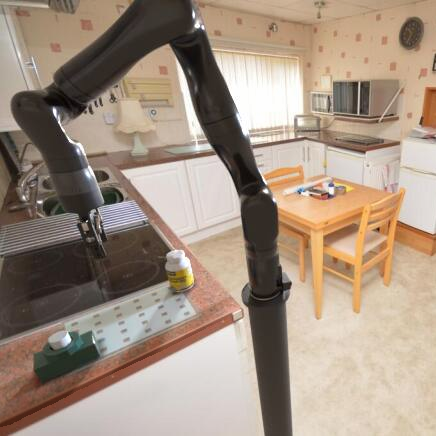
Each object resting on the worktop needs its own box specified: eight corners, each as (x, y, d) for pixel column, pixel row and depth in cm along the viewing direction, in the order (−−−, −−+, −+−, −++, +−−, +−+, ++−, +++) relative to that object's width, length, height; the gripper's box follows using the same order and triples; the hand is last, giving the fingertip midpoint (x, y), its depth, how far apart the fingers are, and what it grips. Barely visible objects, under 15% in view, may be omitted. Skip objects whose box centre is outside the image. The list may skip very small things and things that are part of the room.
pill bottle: (166, 291, 86) (157, 258, 81) (180, 277, 92) (172, 246, 87) (186, 294, 85) (178, 261, 80) (198, 280, 91) (192, 249, 86)
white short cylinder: (71, 335, 64) (67, 328, 63) (72, 344, 62) (68, 337, 61) (52, 343, 62) (47, 335, 61) (52, 353, 60) (48, 345, 59)
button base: (97, 341, 70) (88, 322, 67) (100, 358, 66) (92, 339, 63) (41, 365, 64) (29, 346, 61) (41, 385, 60) (29, 366, 57)
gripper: (95, 195, 61) (119, 259, 68) (100, 176, 71) (120, 233, 79) (48, 202, 57) (79, 269, 64) (60, 181, 68) (86, 240, 75)
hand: (102, 249), depth 72 cm, fingers open, 8 cm apart
